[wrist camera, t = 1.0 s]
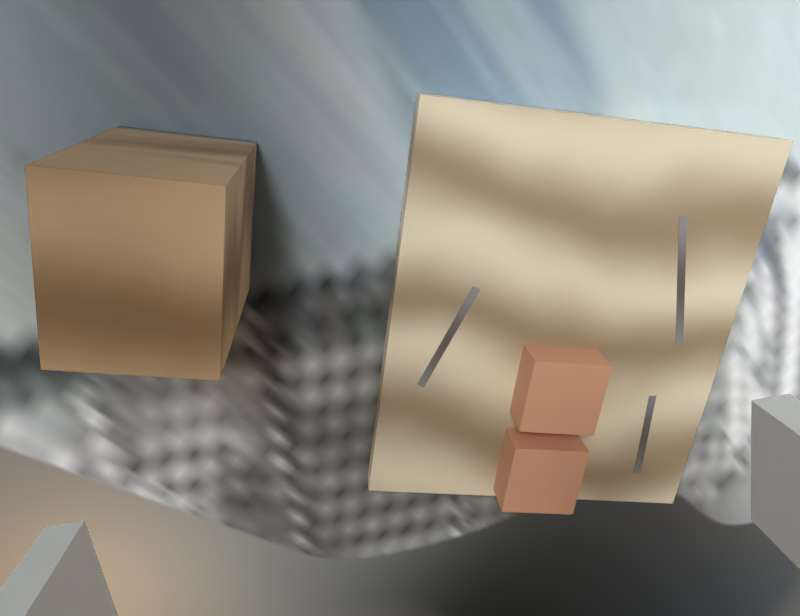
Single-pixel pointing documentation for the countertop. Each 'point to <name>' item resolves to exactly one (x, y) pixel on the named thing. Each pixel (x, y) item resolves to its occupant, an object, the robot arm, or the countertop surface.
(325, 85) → the countertop surface
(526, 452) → the salmon orange square block
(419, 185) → the birch board
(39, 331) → the cardboard box
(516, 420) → the terracotta square block
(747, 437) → the countertop surface
